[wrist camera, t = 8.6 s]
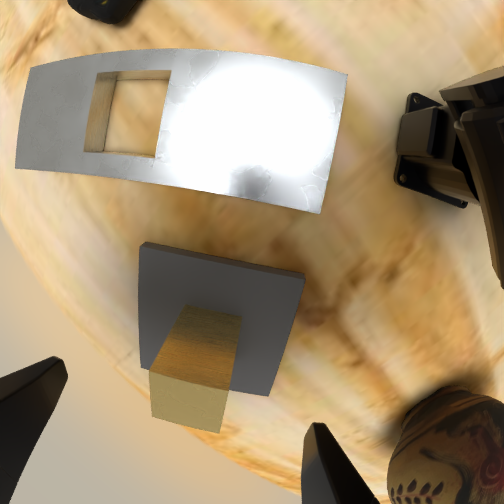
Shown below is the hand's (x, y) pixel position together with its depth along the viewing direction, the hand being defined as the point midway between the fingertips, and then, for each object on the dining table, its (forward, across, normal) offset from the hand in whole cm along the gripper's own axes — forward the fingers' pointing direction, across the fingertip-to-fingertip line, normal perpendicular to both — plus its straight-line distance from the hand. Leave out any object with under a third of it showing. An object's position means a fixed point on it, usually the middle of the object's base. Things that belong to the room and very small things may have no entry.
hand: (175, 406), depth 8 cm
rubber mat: (+12, +1, +5) cm, 13 cm away
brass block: (+11, +1, +5) cm, 12 cm away
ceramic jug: (+12, -26, +14) cm, 32 cm away
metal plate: (+12, +6, -9) cm, 16 cm away
